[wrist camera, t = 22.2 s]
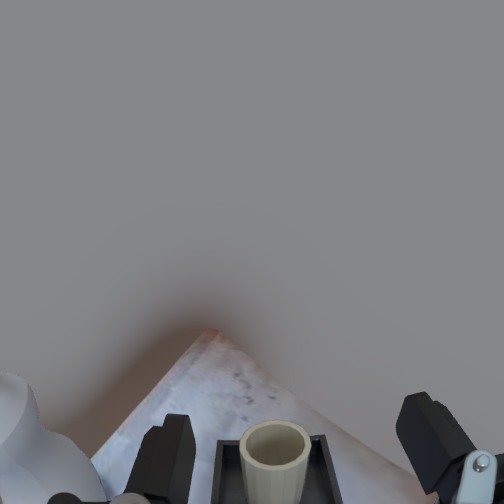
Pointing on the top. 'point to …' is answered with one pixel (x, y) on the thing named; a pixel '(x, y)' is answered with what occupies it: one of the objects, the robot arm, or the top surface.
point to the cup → (274, 462)
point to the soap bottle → (38, 453)
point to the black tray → (316, 484)
